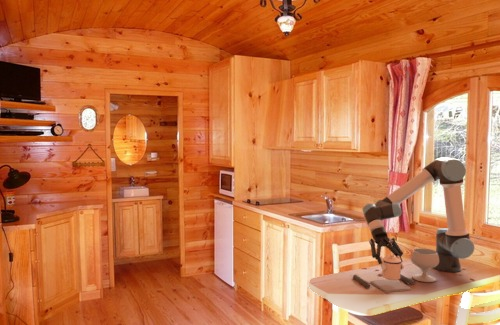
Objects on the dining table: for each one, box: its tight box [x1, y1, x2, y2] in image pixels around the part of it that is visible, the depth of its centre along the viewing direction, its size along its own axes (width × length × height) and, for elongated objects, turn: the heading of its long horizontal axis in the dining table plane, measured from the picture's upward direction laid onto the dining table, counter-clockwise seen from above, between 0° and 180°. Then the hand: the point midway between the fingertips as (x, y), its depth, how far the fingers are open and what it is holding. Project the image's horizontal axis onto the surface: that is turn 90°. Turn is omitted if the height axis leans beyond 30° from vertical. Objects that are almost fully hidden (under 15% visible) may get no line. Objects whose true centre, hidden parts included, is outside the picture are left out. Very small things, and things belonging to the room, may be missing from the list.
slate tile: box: [370, 279, 412, 293], centre depth 209 cm, size 14×14×1 cm
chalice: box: [410, 248, 439, 283], centre depth 220 cm, size 14×14×15 cm
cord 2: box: [399, 273, 414, 286], centre depth 218 cm, size 15×2×2 cm, turn 13°
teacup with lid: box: [381, 253, 402, 281], centre depth 209 cm, size 12×9×12 cm
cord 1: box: [352, 274, 371, 289], centre depth 213 cm, size 15×2×2 cm, turn 13°
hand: (393, 269), depth 206 cm, fingers closed on teacup with lid, 9 cm apart
